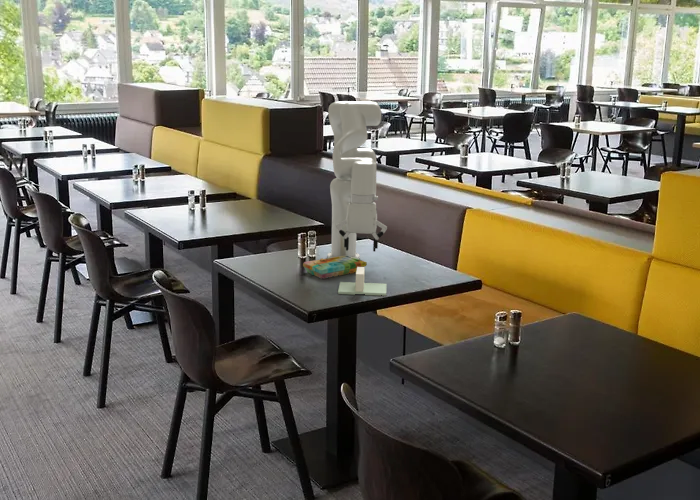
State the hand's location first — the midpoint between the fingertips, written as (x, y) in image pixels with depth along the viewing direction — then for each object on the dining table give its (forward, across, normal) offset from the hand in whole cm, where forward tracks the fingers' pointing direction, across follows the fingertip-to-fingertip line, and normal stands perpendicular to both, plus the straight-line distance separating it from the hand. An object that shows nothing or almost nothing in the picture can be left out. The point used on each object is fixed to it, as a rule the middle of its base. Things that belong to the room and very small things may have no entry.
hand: (360, 249), depth 264 cm
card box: (+13, 0, 0) cm, 13 cm away
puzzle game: (+15, +10, -20) cm, 27 cm away
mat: (+14, -1, 0) cm, 14 cm away
